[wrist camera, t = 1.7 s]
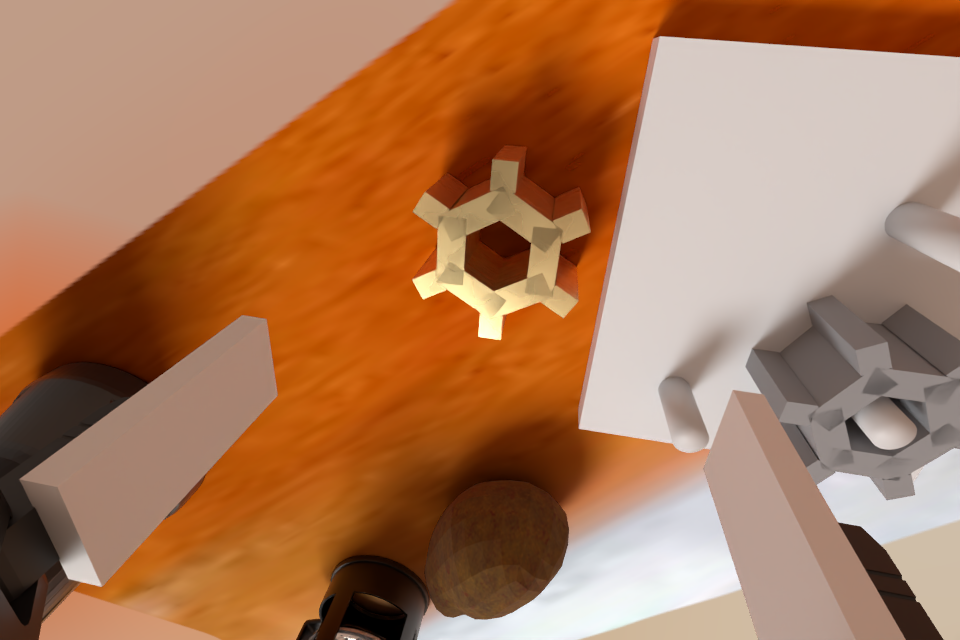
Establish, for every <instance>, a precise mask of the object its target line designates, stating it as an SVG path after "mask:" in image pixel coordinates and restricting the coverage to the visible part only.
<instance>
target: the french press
mask: <svg viewBox="0 0 960 640" xmlns="http://www.w3.org/2000/svg"><path fill="white" fill-rule="evenodd" d="M354 593H363V594H368V595H372V596H375V597H378V598H381V599H383V600H385V601H387V602H389V603H391V604H393V605H394V606H396V607H397V608H399V609H400V610H401V611H402V612H403V613H404V614H403V615H399V616H381V615H377V614H374V613H371V612H368V611H366V610H364V609H362V608H361V607H359V606H358V605H356V604H355V603H354V602H353V601H352V600H351V599H352V597H353V594H354ZM428 604H429V596H428V591H427V589H426V587H425V585H424V584H423V582H422V581H421V580H420V578H419V577H418V576H416V575H415V574H414V573H413V572H412V571H410V570H409V569H408V568H406V567H405V566H403V565H401V564H399V563H397V562H394V561H392V560H389V559H386V558H381V557H377V556H356V557H351V558H348V559H346V560H344V561H342V562H341V563H340V564H339V565H338V566H337V567H336V568H335V570H334V571H333V573H332V577H331V583H330V586H329V588H328V590H327V592H326V594H325V596H324V599H323V601H322V603H321V605H320V609H319V616H320V619H312V620H307V621H306V622H305V623H304V625H303V627H302V629H301V631H300V633H299V635H298V637H297V639H296V640H417V637H418V633H419V629H420V625H421V622H422V618H423V616H424V615H425V613H426V611H427V609H428Z"/></svg>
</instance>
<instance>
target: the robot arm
mask: <svg viewBox="0 0 960 640" xmlns="http://www.w3.org/2000/svg"><path fill="white" fill-rule="evenodd" d="M276 396H277V388H276V381H275V374H274V367H273V360H272V353H271V347H270V340H269V333H268V326H267V319H263V318H257V317H250V316H244V315H242V316H241V317H239V318H238V319H237V320H235V321H234V322H233V323H231V324H230V325H228V326H227V327H226V328H224V329H223V330H222V331H220V332H219V333H218V334H216V335H215V336H213V337H212V338H211V339H209V340H208V341H207V342H205V343H204V344H203V345H201V346H200V347H199V348H197V349H196V350H194V351H193V352H192V353H190V354H189V355H188V356H186V357H185V358H184V359H182V360H181V361H180V362H178V363H177V364H175V365H174V366H173V367H171V368H170V369H169V370H167V371H166V372H165V373H163V374H162V375H160V376H159V377H158V378H156V379H155V380H154V381H152V382H151V383H150V384H147V383H145V382H144V381H142V380H140V379H139V378H137V377H135V376H133V375H131V374H129V373H126V372H124V371H121V370H119V369H116V368H113V367H110V366H106V365H102V364H96V363H87V362H78V363H70V364H66V365H62V366H60V367H58V368H56V369H54V370H52V371H50V372H49V373H47V374H45V375H44V376H42V377H40V378H38V379H37V380H35V381H33V382H32V383H30V384H29V385H28V386H26V387H25V388H24V389H23V390H22V391H21V392H20V394H19V395H18V396H17V398H16V399H15V400H14V402H13V404H12V405H11V406H10V407H9V408H8V409H7V410H6V411H5V412H4V413H3V414H2V415H1V416H0V640H39V634H40V628H41V624H42V623H43V622H44V621H45V620H46V619H47V618H48V617H49V615H51V613H52V612H53V611H54V610H55V609H56V608H57V607H58V606H59V605H60V604H61V603H62V602H63V601H64V600H65V599H66V598H67V597H68V595H69V594H70V593H71V592H72V591H73V590H74V589H75V588H76V587H77V586H78V585H79V584H80V583H81V582H84V583H88V584H92V585H97V586H101V587H102V586H103V585H104V584H105V583H106V582H107V581H108V580H109V579H110V578H111V576H112V575H113V574H114V573H115V572H116V571H117V570H118V569H119V568H120V567H121V566H122V564H123V563H124V562H125V561H126V560H127V559H128V558H129V557H130V556H131V555H132V554H133V552H134V551H135V550H136V549H137V548H138V547H139V546H140V545H141V544H142V543H143V542H144V540H145V539H146V538H147V537H148V536H149V535H150V534H151V533H152V532H153V531H154V530H155V528H156V527H157V526H158V525H159V524H160V523H161V522H162V521H163V520H164V519H166V518H168V517H169V516H171V515H173V514H174V513H175V512H177V511H178V510H179V509H180V508H181V507H182V506H183V505H184V504H185V503H186V502H187V501H188V500H189V498H190V497H191V496H192V495H193V494H194V493H195V492H196V491H197V489H198V488H199V487H200V485H201V484H202V481H203V479H204V475H205V474H206V473H207V472H208V471H209V470H210V468H211V467H212V466H213V465H214V464H215V463H216V462H217V461H218V460H219V459H220V458H221V456H222V455H223V454H224V453H225V452H226V451H227V450H228V449H229V448H230V447H231V446H232V444H233V443H234V442H235V441H236V440H237V439H238V438H239V437H240V436H241V435H242V434H243V432H244V431H245V430H246V429H247V428H248V427H249V426H250V425H251V424H252V423H253V422H254V420H255V419H256V418H257V417H258V416H259V415H260V414H261V413H262V412H263V411H264V410H265V408H266V407H267V406H268V405H269V404H270V403H271V402H272V401H273V400H274V399H275V398H276ZM703 469H704V472H705V475H706V478H707V481H708V484H709V487H710V491H711V494H712V497H713V500H714V503H715V506H716V509H717V512H718V516H719V519H720V522H721V525H722V528H723V531H724V534H725V537H726V540H727V544H728V547H729V550H730V553H731V556H732V559H733V562H734V565H735V569H736V572H737V575H738V578H739V581H740V584H741V587H742V590H743V593H744V596H745V600H746V603H747V606H748V609H749V612H750V615H751V618H752V621H753V625H754V628H755V631H756V634H757V637H758V640H943V638H942V637H941V635H940V634H939V632H938V631H937V629H936V627H935V626H934V624H933V623H932V621H931V620H930V618H929V617H928V616H927V613H926V612H925V610H924V609H923V607H922V606H921V604H920V603H919V602H916V600H915V598H916V596H915V595H914V594H913V592H912V590H911V589H910V587H909V586H908V584H907V583H906V581H903V580H902V575H901V573H900V572H899V570H898V569H897V567H896V565H895V564H894V563H893V561H892V559H891V558H890V556H889V555H888V553H887V552H886V550H885V549H884V548H883V547H882V546H881V545H880V544H879V543H877V542H876V541H875V540H874V539H873V538H872V537H871V536H870V535H869V534H868V533H867V532H866V531H865V530H864V529H863V528H862V527H860V526H854V525H849V524H843V523H838V522H837V520H836V518H835V517H834V515H833V513H832V512H831V510H830V508H829V506H828V505H827V503H826V501H825V499H824V498H823V496H822V494H821V493H820V491H819V489H818V487H817V486H816V484H815V482H814V481H813V479H812V477H811V475H810V474H809V472H808V470H807V468H806V467H805V465H804V463H803V462H802V460H801V458H800V456H799V455H798V453H797V451H796V449H795V448H794V446H793V444H792V443H791V441H790V439H789V437H788V436H787V434H786V432H785V430H784V429H783V427H782V425H781V424H780V422H779V420H778V418H777V417H776V415H775V413H774V411H773V410H772V408H771V406H770V405H769V403H768V401H767V399H766V398H765V396H764V394H757V393H751V392H744V391H737V390H733V391H732V394H731V396H730V399H729V402H728V404H727V407H726V409H725V412H724V415H723V417H722V420H721V423H720V425H719V428H718V431H717V433H716V436H715V439H714V441H713V444H712V447H711V449H710V452H709V454H708V457H707V460H706V462H705V465H704V468H703Z"/></svg>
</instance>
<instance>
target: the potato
mask: <svg viewBox="0 0 960 640" xmlns="http://www.w3.org/2000/svg"><path fill="white" fill-rule="evenodd" d="M568 535H569V527H568V522H567V516H566V513H565V512H564V510H563V509H562V508H561V506H560V505H559V504H558V503H557V502H556V501H555V500H554V499H553V498H552V496H551V495H550V494H549V493H548V492H546V491H544V490H542V489H540V488H538V487H536V486H534V485H532V484H530V483H528V482H522V481H515V480H498V481H487V482H482V483H477V484H475V485H474V486H472V487H470V488H468V489H467V490H465V491H464V492H462V493H461V494H460V495H459V496H458V497H457V498H456V499H455V500H454V501H453V502H452V503H451V504H450V505H449V506H448V507H447V508H446V510H445V511H444V513H443V514H442V516H441V517H440V519H439V521H438V523H437V525H436V527H435V529H434V531H433V534H432V537H431V540H430V543H429V548H428V554H427V559H426V565H425V572H424V573H425V578H426V583H427V587H428V591H429V594H430V597H431V600H432V601H433V603H434V605H435V607H436V609H437V610H438V611H439V612H441V613H442V614H443V615H444V616H447V617H453V618H454V617H457V616H460V615H467V616H469V617H472V618H474V619H492V618H499V617H503V616H505V615H507V614H510V613H512V612H514V611H515V610H517V609H519V608H520V607H522V606H524V605H525V604H527V603H529V602H530V601H532V600H533V599H534V598H536V597H537V596H538V595H539V594H540V593H541V592H542V591H543V590H544V589H545V587H546V586H547V585H548V584H549V582H550V581H551V580H552V579H553V578H554V576H555V575H556V574H557V572H558V571H559V569H560V568H561V567H562V564H563V560H564V557H565V553H566V549H567V546H568Z"/></svg>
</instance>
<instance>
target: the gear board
mask: <svg viewBox="0 0 960 640" xmlns="http://www.w3.org/2000/svg"><path fill="white" fill-rule="evenodd" d="M733 390H737V391H744V392H751V393H757V394H764V396H765V398H766V399H767V401H768V403H769V405H770V406H771V408H772V410H773V411H774V413H775V415H776V417H777V418H778V420H779V422H780V424H781V425H782V427H783V429H784V430H785V432H786V434H787V436H788V437H789V439H790V441H791V443H792V444H793V446H794V448H795V449H796V451H797V453H798V455H799V456H800V458H801V460H802V462H803V463H804V465H805V467H806V468H807V470H808V472H809V474H810V475H811V477H812V479H813V481H814V482H815V484H816V485H817V484H818V483H820V482H822V481H823V480H825V479H826V478H828V477H829V476H831V475H833V474H834V473H836V472H835V471H837V472H843V473H849V474H856V475H862V476H868V477H870V478H871V479H872V481H873V482H874V484H875V485H876V486H877V488H878V489H879V490H880V492H881V493H882V494H883V496H884V497H885V498H886V500H891V499H896V498H902V497H907V496H913V495H915V492H914V486H913V481H915V479H916V478H917V476H918V474H919V473H920V471H921V470H922V468H923V467H924V465H926V464H928V463H929V462H931V461H933V460H934V459H936V458H938V457H940V456H941V455H943V454H945V453H946V452H948V451H950V450H951V449H953V448H957V449H960V57H949V56H935V55H920V54H906V53H892V52H878V51H863V50H849V49H835V48H821V47H806V46H792V45H778V44H764V43H749V42H735V41H721V40H707V39H692V38H678V37H664V36H659V37H657V38H654V39H653V42H652V47H651V52H650V57H649V61H648V66H647V71H646V76H645V81H644V86H643V91H642V96H641V101H640V106H639V111H638V116H637V121H636V126H635V131H634V136H633V141H632V146H631V151H630V156H629V161H628V165H627V170H626V175H625V180H624V185H623V190H622V195H621V200H620V205H619V210H618V215H617V220H616V225H615V230H614V235H613V240H612V245H611V250H610V255H609V260H608V265H607V269H606V274H605V279H604V284H603V289H602V294H601V299H600V304H599V309H598V314H597V319H596V324H595V329H594V334H593V339H592V344H591V349H590V354H589V359H588V364H587V369H586V374H585V378H584V383H583V388H582V393H581V398H580V403H579V408H578V422H579V429H584V430H590V431H596V432H603V433H609V434H615V435H622V436H628V437H634V438H641V439H647V440H654V441H660V442H666V443H673V445H674V446H675V447H676V448H677V449H678V450H680V451H682V452H687V453H692V452H697V451H700V450H702V449H703V448H704V449H711V447H712V444H713V441H714V439H715V436H716V433H717V431H718V428H719V425H720V423H721V420H722V417H723V415H724V412H725V409H726V407H727V404H728V402H729V399H730V396H731V394H732V391H733Z"/></svg>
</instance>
